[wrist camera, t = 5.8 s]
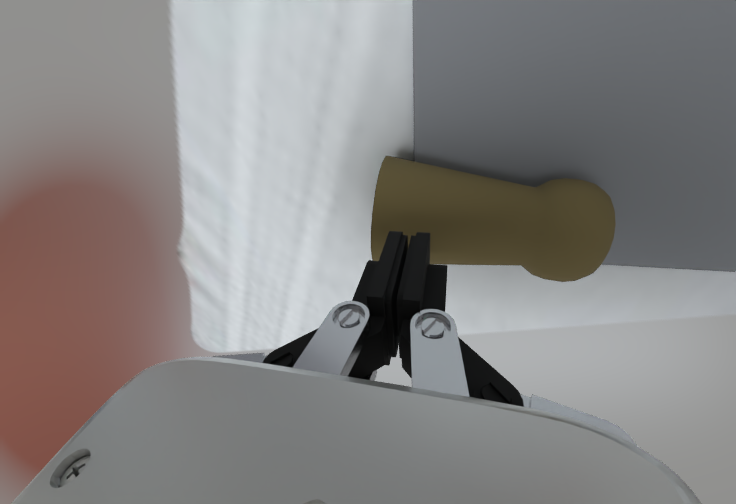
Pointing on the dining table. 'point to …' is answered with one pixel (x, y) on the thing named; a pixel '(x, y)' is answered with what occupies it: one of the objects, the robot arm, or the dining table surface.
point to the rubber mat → (592, 110)
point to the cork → (495, 219)
